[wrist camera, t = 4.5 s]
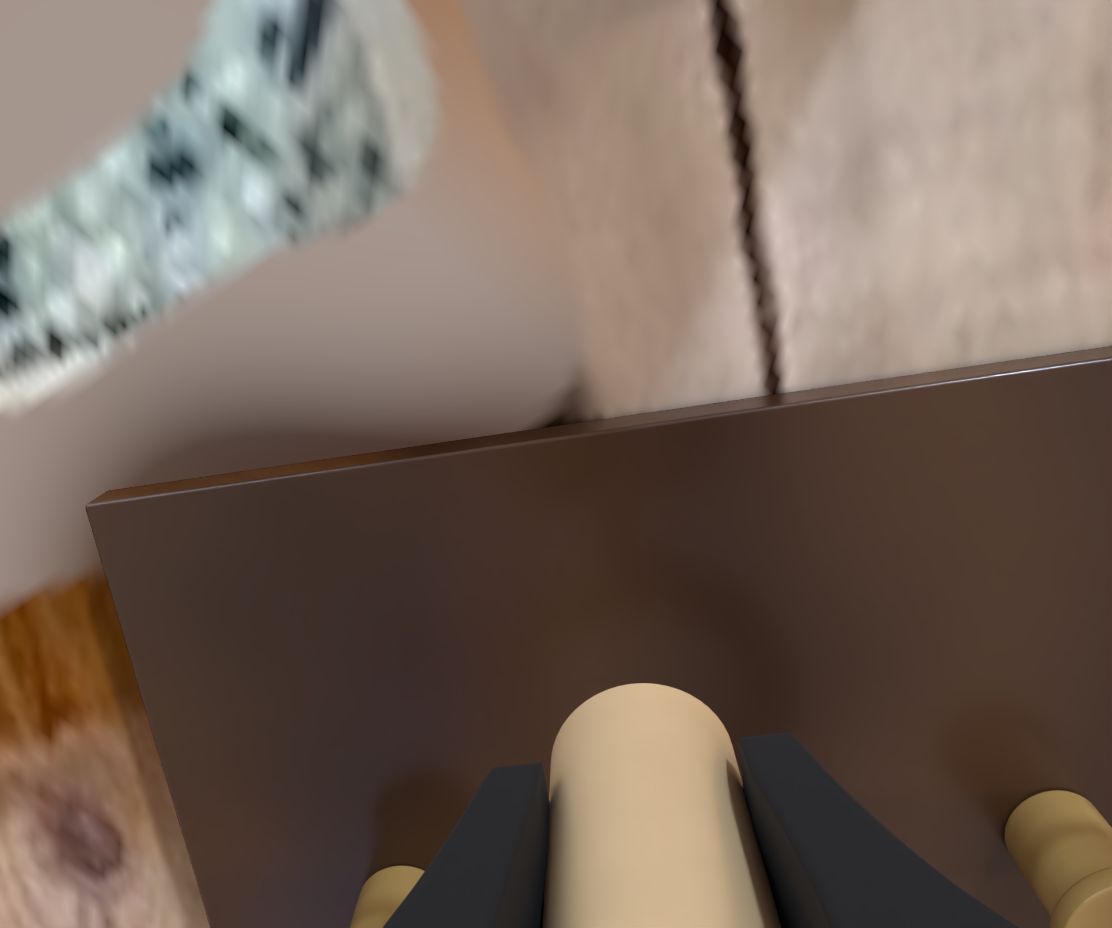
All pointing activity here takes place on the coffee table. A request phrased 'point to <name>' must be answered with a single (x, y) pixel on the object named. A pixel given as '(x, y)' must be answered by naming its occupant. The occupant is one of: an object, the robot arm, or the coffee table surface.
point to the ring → (650, 819)
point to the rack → (644, 627)
